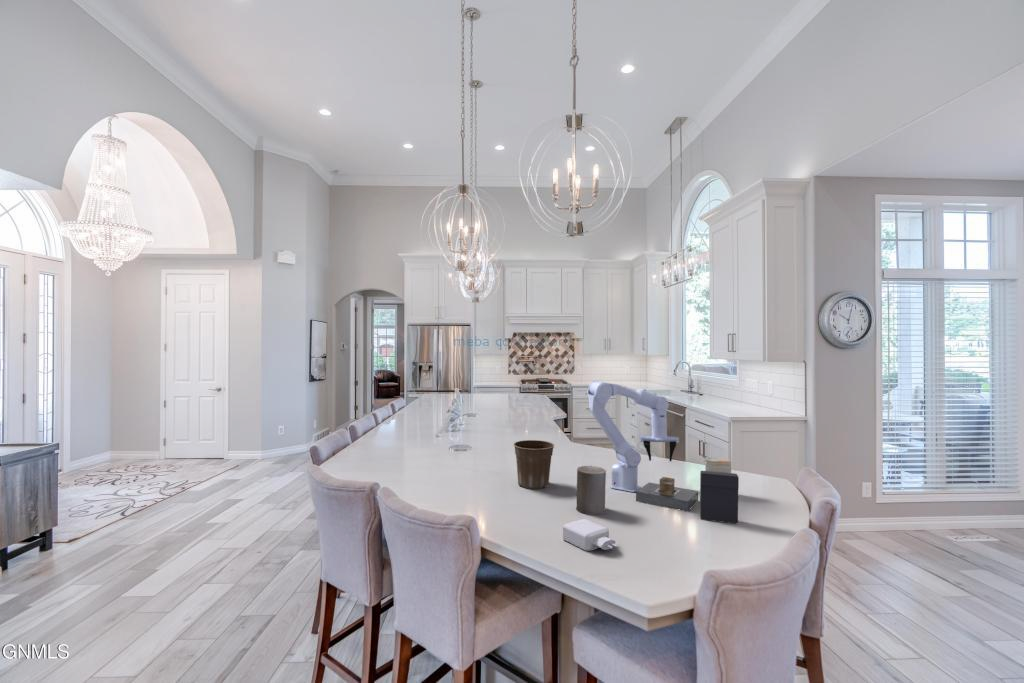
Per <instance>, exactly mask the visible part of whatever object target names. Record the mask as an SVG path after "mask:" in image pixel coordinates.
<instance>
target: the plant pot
mask: <svg viewBox="0 0 1024 683" xmlns="http://www.w3.org/2000/svg"><path fill="white" fill-rule="evenodd" d="M513 446H514V454H515V459H516V470H517V471H516V472H517V484H518V486H519V487H522V488H524V489H528V488H529V489H530V490H539V489H542V488H547V487H548V486H549V484H550V475H551V474H550V473H551V465H552V464H551V463H552V456H553V454H554V453H553V452H554V448H555V444H554V443H553V442H549V441H546V440H539V439H538V440H536V439H534V440H533V439H529V440H527V439H526V440H524V439H523V440H519V441H515V442H514V443H513Z"/></svg>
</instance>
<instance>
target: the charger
mask: <svg viewBox="0 0 1024 683" xmlns="http://www.w3.org/2000/svg"><path fill="white" fill-rule="evenodd" d="M562 539H563V541H565V542H568V543H570V544H572V545H573V546H575V547H577V548H579V549H581V550H583V551H586V552H591V551H594V550H597V549H602V550H604V551H606V550H610V549H613V548H614V547H615V548H617V547H618V545H617V544H616V541H615V540H613V539H612V538H610V532H609V528H608V527H605V526H603V525H600V524H597V523H595V522H594V521H591V520H588V519H586V518H581V519H578V520H575V521H571V522H567V523H565V524H564V525H563V527H562Z"/></svg>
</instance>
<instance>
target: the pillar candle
mask: <svg viewBox="0 0 1024 683" xmlns="http://www.w3.org/2000/svg"><path fill="white" fill-rule="evenodd" d="M606 475H607V469H605V468H603V467H602V466H595V465H582V466H579V467H577V469H576V508H575V509H576V511H577V512H579V513H581V514H585V515H589V514H590V515H592V516H593V515H594V516H595V515H596V514H597V515H602V514H604V513H605V511H606V486H607V485H606V484H607V483H606V481H607V480H606V479H607V477H606ZM597 515H596V516H597Z"/></svg>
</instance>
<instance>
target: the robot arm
mask: <svg viewBox="0 0 1024 683" xmlns="http://www.w3.org/2000/svg"><path fill="white" fill-rule="evenodd" d="M586 393H587V394H586V395H587V397H588V406H589V411H590V413H591V414H592V416H593V417H594V419H595V421H596V422H597V423H598V424H599V426H600V428H601V429H602V431H603V432H604V434H605V435H606V437H607V438H608V440H609V441H610V443H611V444H612V446H613V450H614V452H615V457H616V459H617V461H618V463H614V464H613V465H612V467H611V468H612V469H611V486H610V488H611V489H614V490H621V491H625V492H631V493H636V491H637V490H639V489H640V488H642V486H641V485H638V479H639V478H638V471H639V470H638V468H639V467H638V466H639V465H640V463H641V460H642V457H641V454H640V453H639V451H636V449H634V448H633V446H632V445H631V444H629V442H627V440H626V439H625V437H624V435H623V434H622V433H621V431H620V430H619V428H618V427H617V425H616V424H615V422H614V420H613V419H612V417H611V416H610V415H609V413H608V411H607V410H606V405H607V403H608V401H609V400H610V398H611V396H613V397H614V396H616V395H618V396H622V397H626V398H629V399H632V400H633V402H634V404H636V405H641V406H643V407H645V408H649V409H650V417H651V435H643V436H642V435H641V436H639V437H640V439H639V440H640V443H643V447H644V448H645V450H646V454H647V456H648V460H649V461H652V453H651V452H652V451H651V442H652V443H669V462H672V461H673V455H674V451H675V449H676V447H677V444H680V436H669V435H668V431H667V430H668V429H667V428H668V424H667V414H668V412H667V410H668V409H669V407H670V403H669V401H668V399H667V398H666V397H665V396H662V395H658V394H657V393H655V392H649V391H647V390H646V389H645V388H641V389H639V388H638V389H637V390H634V389H633V390H632V389H630V388H627V387H625V386H622V385H619V384H616V383H610V382H603V381H599V380H593V381H592V382H590V383H589V385H588V388H587V391H586Z"/></svg>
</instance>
